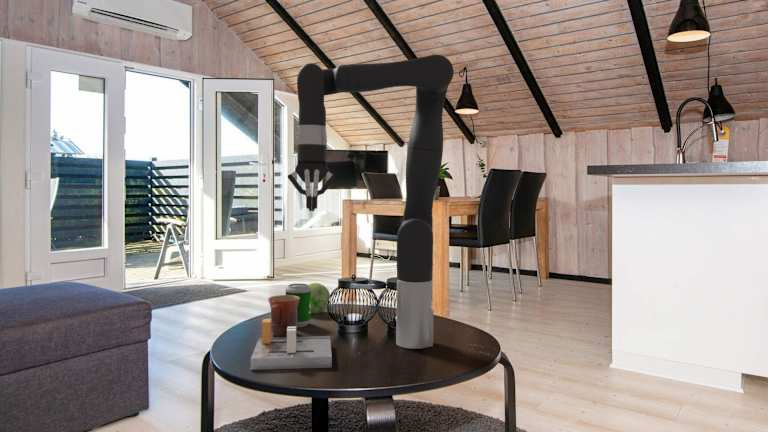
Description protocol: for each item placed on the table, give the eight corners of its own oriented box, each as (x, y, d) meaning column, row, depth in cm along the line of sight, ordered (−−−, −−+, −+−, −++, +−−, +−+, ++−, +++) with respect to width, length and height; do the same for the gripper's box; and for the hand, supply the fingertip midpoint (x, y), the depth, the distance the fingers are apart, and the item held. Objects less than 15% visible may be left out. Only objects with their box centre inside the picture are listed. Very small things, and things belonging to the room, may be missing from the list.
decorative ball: (332, 315, 168) (332, 285, 167) (301, 317, 165) (301, 286, 165) (327, 309, 177) (327, 280, 177) (298, 310, 175) (298, 281, 174)
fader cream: (296, 348, 123) (296, 326, 123) (295, 352, 119) (295, 329, 119) (287, 348, 123) (287, 326, 122) (286, 352, 119) (286, 330, 119)
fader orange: (271, 339, 130) (271, 318, 130) (270, 343, 126) (270, 321, 126) (263, 339, 130) (263, 318, 129) (261, 343, 126) (261, 322, 126)
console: (329, 345, 135) (329, 335, 134) (331, 367, 118) (331, 356, 118) (259, 347, 132) (259, 337, 132) (250, 369, 115) (250, 358, 115)
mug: (275, 329, 150) (275, 294, 150) (304, 331, 148) (304, 295, 148) (257, 340, 138) (257, 302, 138) (288, 343, 137) (288, 304, 136)
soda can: (308, 328, 152) (308, 287, 151) (282, 327, 152) (283, 287, 152) (312, 321, 159) (312, 283, 159) (287, 321, 160) (288, 282, 159)
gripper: (337, 146, 139) (336, 210, 140) (287, 144, 137) (286, 210, 138) (338, 143, 131) (337, 211, 132) (285, 142, 130) (285, 211, 130)
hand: (311, 210), depth 135 cm, fingers closed
